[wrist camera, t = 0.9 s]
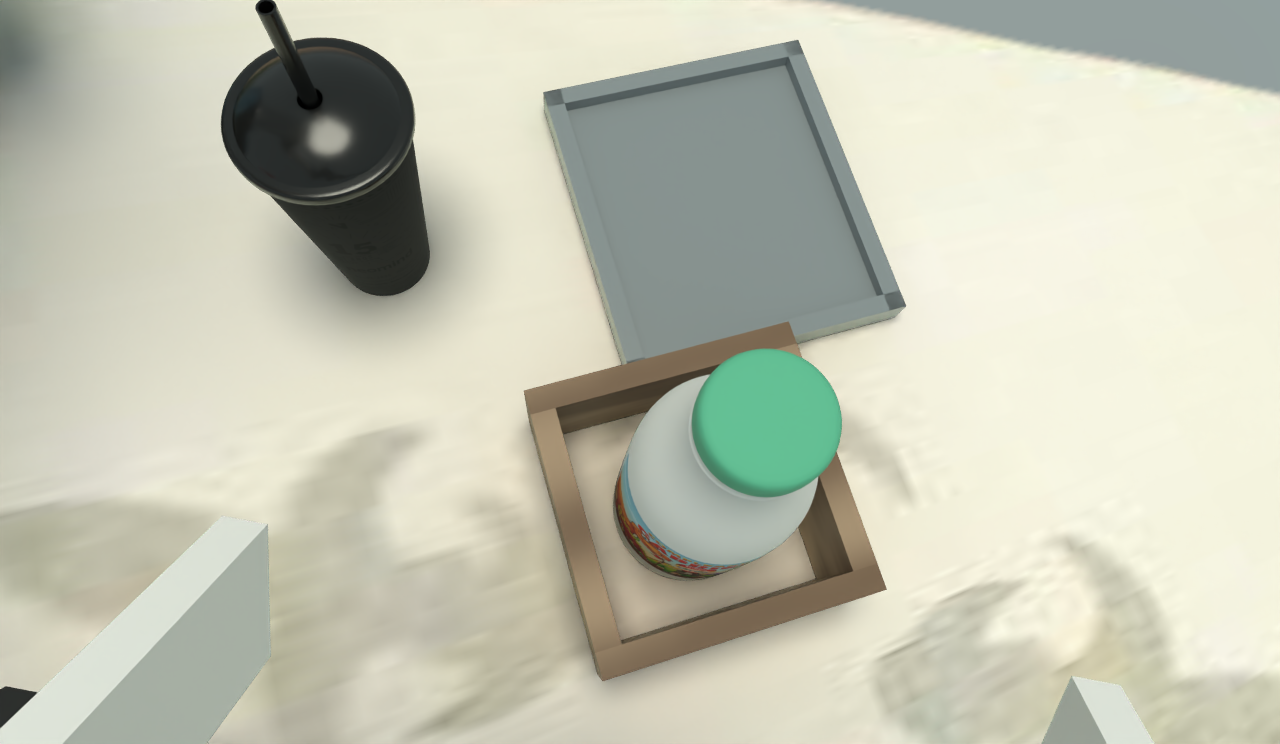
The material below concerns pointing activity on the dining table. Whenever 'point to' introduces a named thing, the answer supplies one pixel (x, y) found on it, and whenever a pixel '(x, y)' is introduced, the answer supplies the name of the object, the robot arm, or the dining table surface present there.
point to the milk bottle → (726, 465)
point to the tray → (718, 203)
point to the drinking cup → (333, 152)
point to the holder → (552, 413)
